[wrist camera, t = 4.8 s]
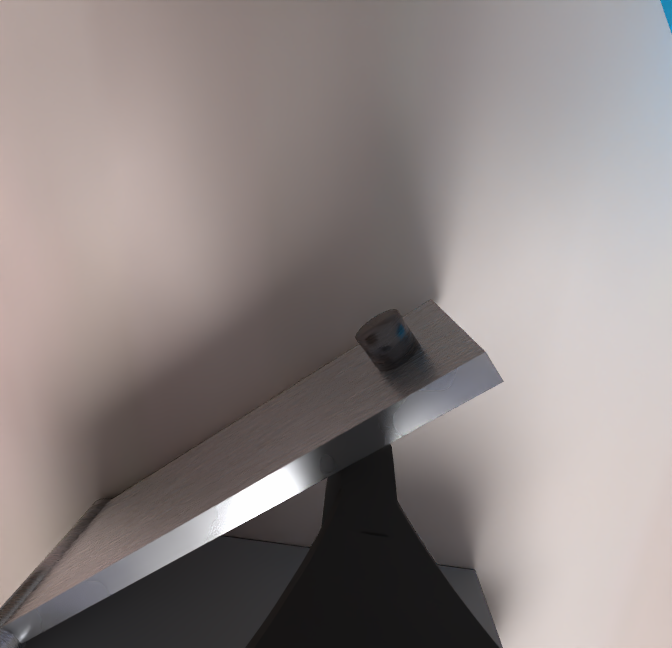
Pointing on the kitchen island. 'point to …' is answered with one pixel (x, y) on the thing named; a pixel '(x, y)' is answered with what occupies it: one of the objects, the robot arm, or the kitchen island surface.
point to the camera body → (210, 600)
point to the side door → (258, 463)
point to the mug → (668, 11)
